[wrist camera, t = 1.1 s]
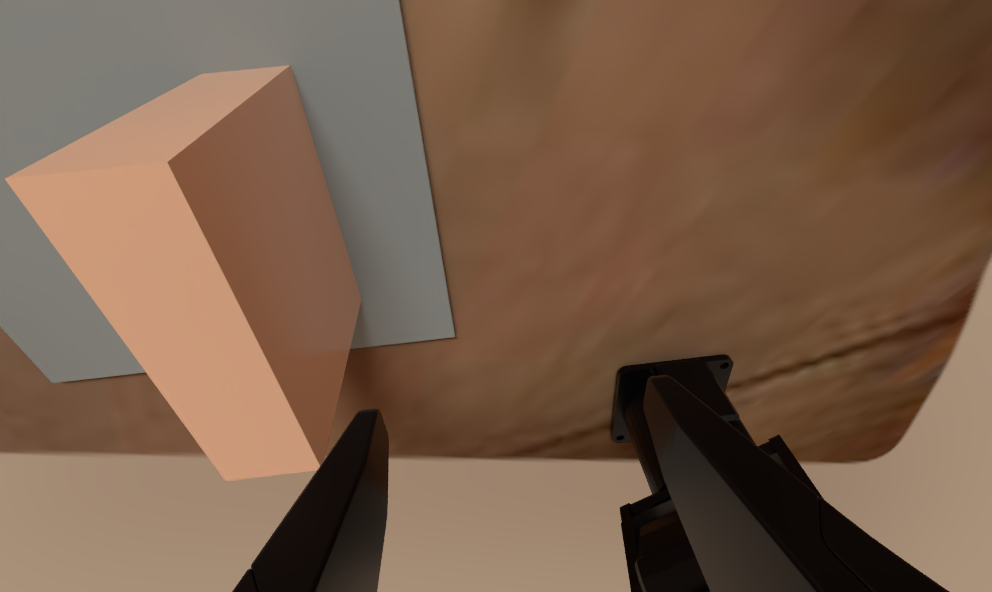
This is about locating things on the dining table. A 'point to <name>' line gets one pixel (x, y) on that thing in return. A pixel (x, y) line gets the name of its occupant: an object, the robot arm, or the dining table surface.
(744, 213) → the dining table surface
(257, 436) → the tile
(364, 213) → the mat
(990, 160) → the dining table surface
